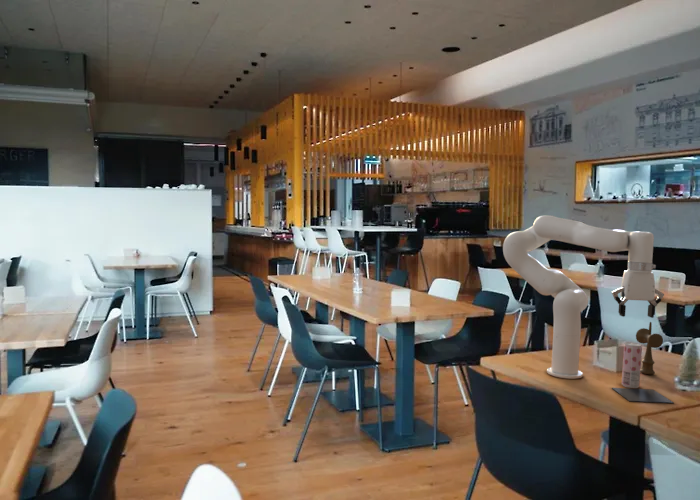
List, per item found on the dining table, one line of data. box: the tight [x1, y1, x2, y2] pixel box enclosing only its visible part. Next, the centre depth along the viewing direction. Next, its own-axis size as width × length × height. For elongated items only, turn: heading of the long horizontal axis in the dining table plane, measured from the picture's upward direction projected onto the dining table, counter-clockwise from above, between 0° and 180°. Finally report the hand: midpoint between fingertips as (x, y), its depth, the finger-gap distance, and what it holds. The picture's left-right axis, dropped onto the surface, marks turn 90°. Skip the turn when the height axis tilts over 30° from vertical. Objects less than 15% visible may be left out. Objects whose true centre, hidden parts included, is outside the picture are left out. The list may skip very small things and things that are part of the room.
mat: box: [611, 387, 675, 404], centre depth 197 cm, size 14×14×1 cm
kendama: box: [635, 321, 664, 376], centre depth 224 cm, size 6×10×20 cm, turn 2°
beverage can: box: [621, 341, 643, 389], centre depth 207 cm, size 6×6×15 cm
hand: (636, 316), depth 205 cm, fingers open, 9 cm apart
